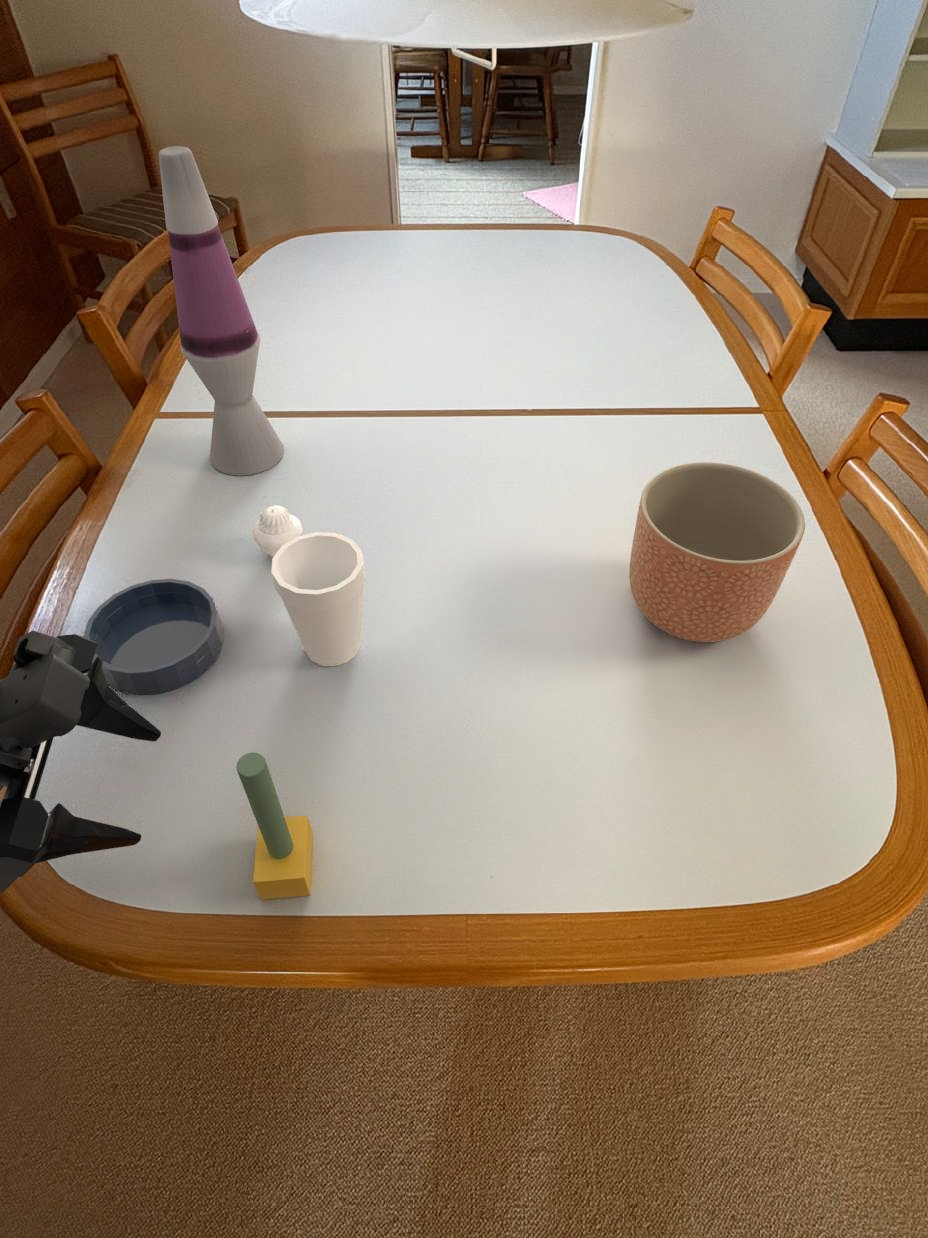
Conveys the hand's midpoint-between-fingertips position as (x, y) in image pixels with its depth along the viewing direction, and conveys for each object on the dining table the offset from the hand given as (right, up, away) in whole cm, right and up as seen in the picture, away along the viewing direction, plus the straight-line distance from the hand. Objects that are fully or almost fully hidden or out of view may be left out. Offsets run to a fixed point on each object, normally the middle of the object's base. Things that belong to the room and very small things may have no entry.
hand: (149, 786), depth 61 cm
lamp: (-7, +37, +55) cm, 67 cm away
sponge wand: (+8, -10, +11) cm, 17 cm away
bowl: (-10, +10, +29) cm, 32 cm away
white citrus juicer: (+1, +22, +40) cm, 46 cm away
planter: (+52, +14, +33) cm, 63 cm away
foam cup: (+9, +10, +29) cm, 32 cm away
